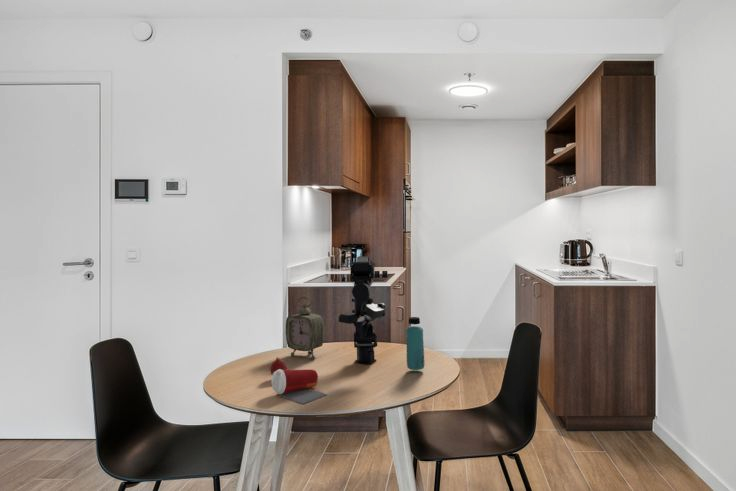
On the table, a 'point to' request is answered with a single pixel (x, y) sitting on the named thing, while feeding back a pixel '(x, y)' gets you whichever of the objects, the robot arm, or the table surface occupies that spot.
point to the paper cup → (293, 380)
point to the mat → (302, 395)
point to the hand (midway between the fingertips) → (362, 338)
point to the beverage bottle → (415, 345)
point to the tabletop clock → (304, 330)
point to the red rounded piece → (277, 365)
